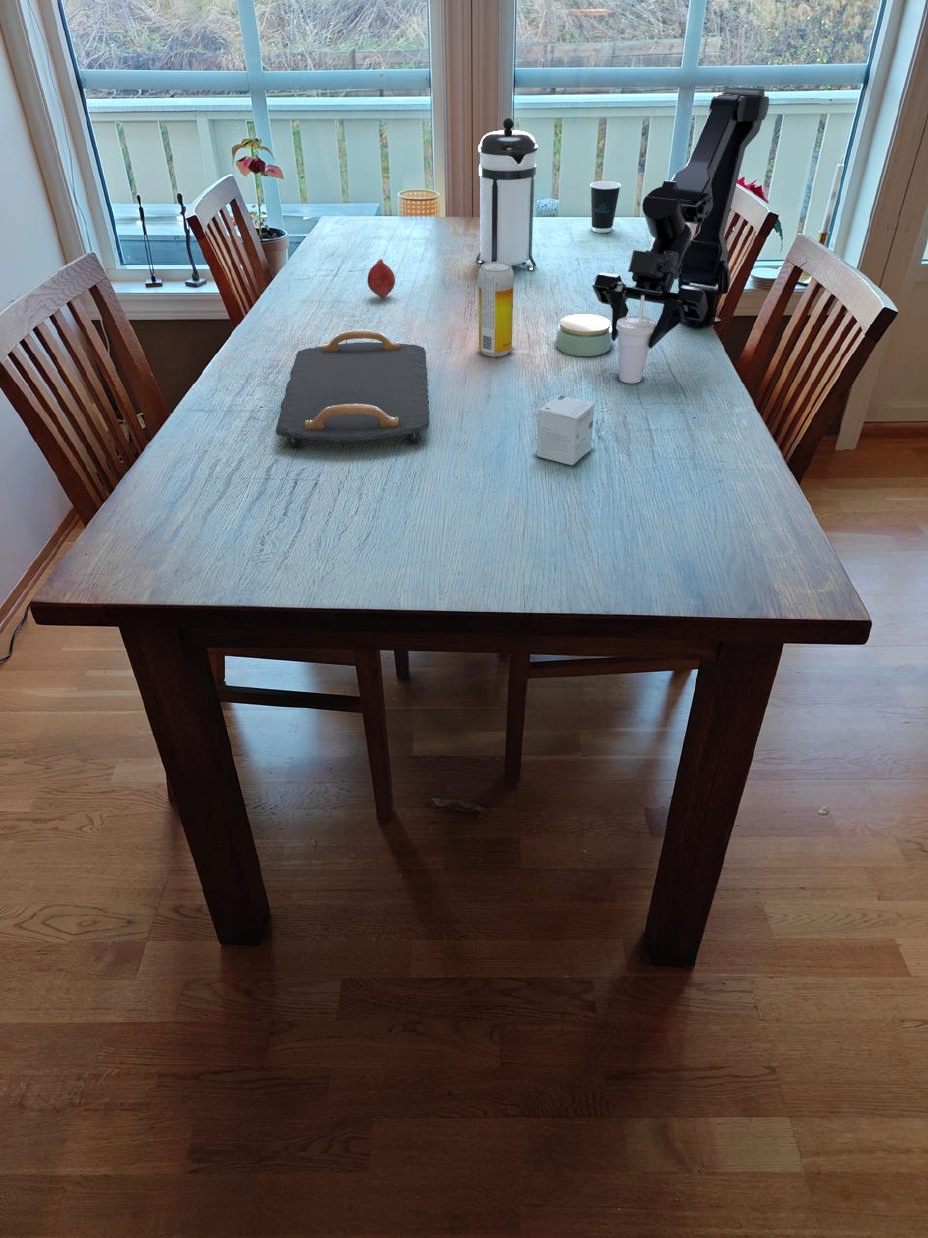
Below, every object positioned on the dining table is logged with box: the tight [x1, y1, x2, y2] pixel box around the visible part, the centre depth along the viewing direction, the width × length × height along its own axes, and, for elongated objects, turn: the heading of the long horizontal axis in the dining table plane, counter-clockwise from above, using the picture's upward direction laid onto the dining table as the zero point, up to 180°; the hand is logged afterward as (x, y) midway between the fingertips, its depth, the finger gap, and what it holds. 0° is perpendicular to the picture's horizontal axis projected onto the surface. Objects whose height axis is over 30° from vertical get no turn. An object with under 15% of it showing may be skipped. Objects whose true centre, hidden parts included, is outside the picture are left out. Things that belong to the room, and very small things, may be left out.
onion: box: [367, 258, 396, 299], centre depth 176 cm, size 6×6×8 cm
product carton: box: [536, 394, 595, 466], centre depth 120 cm, size 6×6×7 cm
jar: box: [555, 313, 612, 357], centre depth 154 cm, size 10×10×4 cm
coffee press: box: [475, 117, 539, 271], centre depth 188 cm, size 17×16×30 cm
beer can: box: [478, 262, 515, 357], centre depth 149 cm, size 6×6×15 cm
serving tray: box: [275, 329, 430, 449], centre depth 135 cm, size 39×23×6 cm, turn 3°
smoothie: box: [616, 295, 657, 384], centre depth 139 cm, size 6×6×14 cm
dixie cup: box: [589, 180, 622, 234], centre depth 217 cm, size 8×8×11 cm
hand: (631, 343), depth 138 cm, fingers closed on smoothie, 6 cm apart
